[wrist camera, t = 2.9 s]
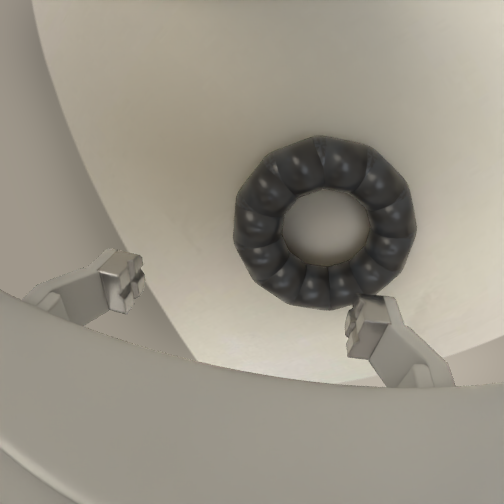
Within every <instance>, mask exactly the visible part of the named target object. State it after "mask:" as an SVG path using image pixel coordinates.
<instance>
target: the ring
mask: <svg viewBox="0 0 504 504" xmlns="http://www.w3.org/2000/svg"><path fill="white" fill-rule="evenodd" d="M322 189H328V190H334V191H339V192H344V193H349V194H350V195H352V196H353V197H354V198H355V199H356V200H357V201H358V202H359V203H361V204H362V205H363V206H364V207H365V208H366V211H367V215H368V218H369V222H370V226H371V228H370V231H369V235H368V238H367V241H366V244H365V246H364V247H363V248H362V249H361V250H360V251H359V252H358V253H357V254H356V255H355V256H354V257H353V258H352V259H351V260H350V261H346V262H343V263H340V264H336V265H333V266H330V267H324V266H318V265H312V264H306V263H304V262H303V261H302V260H300V259H299V258H297V257H296V256H295V255H293V254H292V253H291V252H289V250H288V248H287V246H286V243H285V241H284V239H283V236H282V234H281V233H282V227H283V221H284V214H285V213H286V212H287V211H288V210H289V209H290V208H291V206H292V205H293V204H294V203H295V202H296V201H297V200H298V198H299V197H301V196H304V195H307V194H310V193H313V192H316V191H319V190H322ZM416 231H417V226H416V219H415V213H414V208H413V203H412V198H411V194H410V190H409V186H408V184H407V182H406V181H405V179H404V178H403V177H402V176H401V175H400V174H399V173H398V172H397V171H396V170H395V169H394V168H393V167H392V166H391V165H390V164H389V163H388V162H387V161H386V160H385V159H384V158H383V157H382V156H381V155H380V154H379V153H378V152H377V151H376V150H375V149H373V148H372V147H370V146H368V145H365V144H360V143H356V142H352V141H347V140H342V139H337V138H332V137H327V136H314V137H311V138H308V139H305V140H302V141H300V142H297V143H294V144H292V145H289V146H286V147H284V148H281V149H278V150H276V151H274V152H271V153H270V154H268V155H267V156H266V157H265V158H264V159H263V160H262V162H261V163H260V164H259V165H258V167H257V168H256V169H255V171H254V172H253V173H252V174H251V176H250V177H249V178H248V180H247V181H246V182H245V184H244V185H243V186H242V188H241V189H240V191H239V192H238V195H237V198H236V206H235V219H234V232H233V240H234V244H235V247H236V249H237V251H238V253H239V255H240V257H241V259H242V261H243V262H244V264H245V266H246V268H247V270H248V272H249V274H250V276H251V277H252V279H253V280H254V281H255V282H256V283H257V284H258V285H260V286H261V287H263V288H264V289H266V290H267V291H269V292H270V293H272V294H273V295H275V296H276V297H278V298H279V299H281V300H282V301H284V302H285V303H287V304H289V305H293V306H299V307H306V308H313V309H320V310H329V311H330V310H335V309H339V308H342V307H346V306H350V305H353V302H352V301H353V299H354V296H355V294H356V293H363V294H371V295H376V294H377V293H378V292H379V291H381V290H382V289H383V288H384V287H385V286H386V285H388V284H389V283H390V282H391V281H392V280H393V279H394V278H396V277H397V276H398V275H399V274H400V273H401V271H402V269H403V267H404V265H405V262H406V260H407V257H408V255H409V252H410V249H411V247H412V244H413V241H414V239H415V236H416Z"/></svg>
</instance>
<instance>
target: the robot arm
mask: <svg viewBox="0 0 504 504" xmlns="http://www.w3.org/2000/svg"><path fill="white" fill-rule="evenodd" d="M142 266H143V260H142V257H141V256H140V255H138V254H134V253H129V252H125V251H120V250H115V249H110V248H109V249H106V250H105V251H104V252H103V253H102V254H101V255H100V256H98V257H97V258H96V259H95V260H94V261H93V262H92V263H91V264H90V265H89V266H88V267H87V268H81V269H78V270H75V271H73V272H70V273H67V274H64V275H62V276H59V277H56V278H54V279H51V280H49V281H46V282H43V283H40V284H38V285H36V286H35V287H34V288H33V289H32V290H31V291H30V292H29V293H28V294H27V295H26V296H25V297H24V298H23V299H22V300H20V299H18V298H16V297H14V296H12V295H10V294H8V293H6V292H4V291H2V290H0V504H504V382H501V383H492V384H483V385H471V386H455V383H454V380H453V377H452V374H451V370H450V368H449V365H448V363H447V362H446V361H445V360H444V359H443V358H442V357H441V356H440V355H439V354H437V353H436V352H435V351H434V350H433V349H432V348H431V347H430V346H429V345H428V344H427V343H426V342H425V341H424V340H423V339H421V338H420V337H419V336H418V335H417V334H416V333H415V332H414V331H413V330H412V329H411V328H410V327H408V326H405V325H404V322H403V319H402V316H401V313H400V310H399V307H398V304H397V302H396V299H395V298H394V297H390V296H378V295H371V294H363V293H356V294H355V296H354V299H353V301H352V302H353V308H352V309H350V310H349V312H348V314H347V317H346V322H345V335H346V336H347V337H348V341H347V343H346V347H347V357H350V358H358V359H366V360H369V362H370V364H371V365H372V366H373V368H374V369H375V371H376V372H377V374H378V375H379V376H380V378H381V379H382V381H383V382H384V383H385V385H386V386H387V387H369V386H352V385H339V384H328V383H319V382H310V381H302V380H294V379H287V378H281V377H274V376H268V375H262V374H256V373H251V372H245V371H240V370H235V369H230V368H225V367H220V366H216V365H211V364H207V363H202V362H198V361H194V360H189V359H186V358H182V357H178V356H174V355H170V354H167V353H163V352H159V351H155V350H152V349H149V348H146V347H142V346H139V345H136V344H133V343H129V342H126V341H123V340H120V339H117V338H114V337H111V336H108V335H105V334H103V333H100V332H97V331H94V330H91V329H89V328H86V327H83V326H84V325H86V324H87V323H89V322H91V321H92V320H94V319H96V318H97V317H99V316H101V315H103V314H104V313H106V312H108V311H109V310H112V311H116V312H119V313H123V314H128V312H129V311H130V309H131V308H132V306H133V305H134V299H135V298H138V297H139V296H140V295H141V294H142V292H143V289H144V286H145V274H144V273H143V271H142V270H141V267H142Z"/></svg>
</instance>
